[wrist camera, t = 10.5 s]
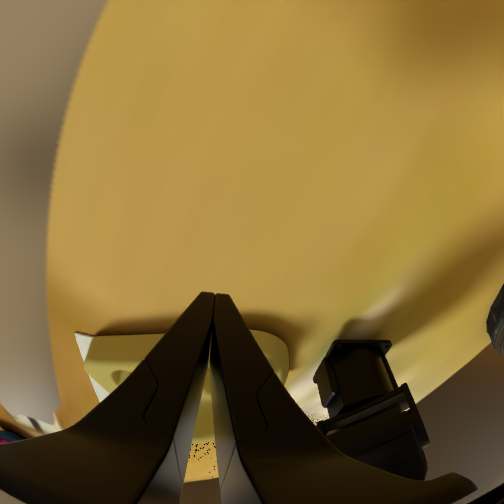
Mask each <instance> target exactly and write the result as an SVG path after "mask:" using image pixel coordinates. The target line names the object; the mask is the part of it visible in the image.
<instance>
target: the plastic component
mask: <svg viewBox="0 0 504 504" xmlns="http://www.w3.org/2000/svg"><path fill="white" fill-rule="evenodd" d="M250 331H251V333H252V335H253V336H254V338H255V340H256V341H257V343H258V345H259V346H260V348H261V350H262V351H263V353H264V355H265V356H266V358H267V360H268V361H269V363H270V364H271V366H272V368H273V369H274V371H275V372H274V373H276V374H277V376H278V377H279V379H280V381H281V382H282V384H283V385H284V384H285V382H286V379H287V376H288V372H289V354H288V349H287V346H286V344H285V343H284V342H283V341H282V340H281V339H279V338H278V337H276V336H274V335H272V334H269V333H266V332H263V331H258V330H250ZM163 335H164V334H147V335H121V336H97V337H94V338H93V339H92V340H91V343H90V346H89V349H88V352H87V355H86V358H85V361H84V368H85V370H86V372H87V373H88V374H89V375H90V376H91V377H92V378H93V379H94V380H95V381H96V382H97V383H98V384H99V385H100V386H101V387H103V388H104V389H105V390H106V391H107V392H108V393H109V394H110V393H111V392H112V391H114V390H115V389H116V388H117V387H118V386H119V385H120V384H121V383H122V382H123V381H124V380H125V379H126V378H127V377H128V376H129V375H130V374H131V372H132V371H133V370H134V369H135V368H136V367H137V366H138V365H139V363H140V362H141V361H142V360H144V358H145V357H146V355H147V354H148V353H149V352H150V351H151V349H152V348H153V347H154V346H155V345H156V344H157V342H158V341H159V340H160V339H161V338H162V337H163ZM210 345H211V344H210ZM209 358H210V355H209ZM211 441H215V434H214V423H213V411H212V398H211V384H210V369H209V363H208V369H207V373H206V378H205V382H204V387H203V392H202V396H201V401H200V405H199V410H198V415H197V419H196V424H195V429H194V434H193V438H192V443H191V444H198V443H206V442H211Z"/></svg>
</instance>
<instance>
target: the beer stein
mask: <svg viewBox="0 0 504 504" xmlns="http://www.w3.org/2000/svg"><path fill="white" fill-rule="evenodd" d="M486 323H487V333H488V334H489V336H490V338H491V341H492V344H493V347H494V349H495V350H496V351H497V352H498V353H500V354H502V355H504V284H503V286H502V288H501V290H500V292H499V294H498V295H497V297H496V299H495V301H494V302H493V304H492V306H491V309H490V312H489V315H488V318H487V321H486Z"/></svg>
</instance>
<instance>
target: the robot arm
mask: <svg viewBox="0 0 504 504" xmlns="http://www.w3.org/2000/svg"><path fill="white" fill-rule="evenodd" d="M214 301H215V302H214ZM210 344H211V345H210ZM391 346H392V343H391V341H390V340H343V339H338V340H335V341H334V342H333V343H332V345H331V347H330V348H329V350H328V352H327V354H326V356H325V358H324V359H323V360H322V362H321V364H320V365H319V367H318V369H317V371H316V372H315V375H314V377H313V382H314V383H317V385H318V390H319V394H320V399H321V403H322V406H323V407H324V408H327V409H328V414H329V419H326V420H324V421H323V420H321V421H318V422H317V423H316V424H317V427H316V426H315V425H314V424H313V422H312V421H311V420H310V419H309V418H308V417H307V415H306V414H305V413H304V412H303V411H302V409H301V408H300V407H299V406H298V404H297V403H296V402H295V401H294V399H293V398H292V397H291V396H290V394H289V393H288V391H287V390H286V388H285V387H284V385H283V384H282V382H281V381H280V379H279V377H278V376H277V374H276V373H274V372H275V371H274V369H273V368H272V366H271V364H270V363H269V361H268V360H267V358H266V356H265V355H264V353H263V351H262V350H261V348H260V346H259V345H258V343H257V341H256V340H255V338H254V336H253V335H252V333H251V331H250V329H249V328H248V326H247V324H246V323H245V321H244V319H243V318H242V316H241V314H240V312H239V311H238V309H237V307H236V306H235V304H234V302H233V300H232V299H231V297H230V295H228V294H221V293H217V294H216V295H215V294H214V293H211V292H201V293H200V294H199V295H198V296H197V297H196V298H195V300H194V301H193V302H192V303H191V304H190V305H189V306H188V308H187V309H186V310H185V311H184V312H183V313H182V315H181V316H180V317H179V318H178V319H177V320H176V322H175V323H174V324H173V325H172V326H171V327H170V328H169V330H168V331H167V332H166V333H165V334H164V335H163V337H162V338H161V339H160V340H159V341H158V342H157V344H156V345H155V346H154V347H153V348H152V349H151V351H150V352H149V353H148V354H147V355H146V357H145V358H144V360H142V361H141V362H140V363H139V365H138V366H137V367H136V368H135V369H134V370H133V371H132V372H131V374H130V375H129V376H128V377H127V378H126V379H125V380H124V381H123V382H122V383H121V384H120V385H119V386H118V387H117V388H116V389H115V390H114V391H112V392H111V393H110V394H109V395H108V396H107V397H106V398H105V399H103V400H102V401H101V402H100V403H99V404H98V405H97V406H96V407H94V408H93V409H92V410H91V411H90V412H89V413H88V414H87V415H85V416H84V417H83V418H82V419H81V420H80V421H78V422H77V423H75V424H74V425H72V426H70V427H69V428H67V429H64V430H62V431H58V432H54V433H50V434H46V435H42V436H38V437H33V438H29V439H24V440H20V441H15V442H9V443H2V444H0V504H179V503H180V498H181V492H182V486H183V482H184V477H185V472H186V468H187V463H188V458H189V453H190V448H191V443H192V438H193V434H194V429H195V424H196V419H197V415H198V410H199V405H200V401H201V396H202V392H203V387H204V382H205V378H206V373H207V369H208V363H209V369H210V384H211V398H212V411H213V423H214V434H215V445H216V455H217V464H218V473H219V482H220V489H221V499H222V504H452V503H454V502H456V501H458V500H460V499H461V498H463V497H465V496H467V495H469V494H470V493H472V492H474V491H476V490H477V489H478V488H477V486H476V485H475V484H474V483H473V482H472V481H471V480H469V479H468V478H466V477H464V476H462V475H459V474H457V473H455V472H451V473H447V474H445V475H442V476H440V477H437V478H435V479H432V480H425V476H426V473H427V468H428V467H427V465H428V463H427V460H426V456H425V453H424V450H423V448H424V447H426V446H428V445H430V441H429V438H428V435H427V433H426V430H425V427H424V424H423V422H422V419H421V417H420V414H419V412H418V409H417V407H416V404H415V402H414V399H413V397H412V395H411V392H410V390H409V388H408V385H407V383H404V384H402V385H401V386H400V387H398V385H397V383H396V380H395V378H394V375H393V373H392V371H391V368H390V366H389V364H388V361H387V359H386V357H385V355H386V353H387V352H388V351H389V349H390V348H391ZM209 355H210V358H209ZM408 408H410V409H409V410H408V411H404V410H406V409H408ZM424 480H425V481H424ZM467 504H504V483H502V484H500V485H499V486H497V487H495V488H494V489H492V490H491V491H489V492H487V493H485V494H483V495H481V496H480V497H478V498H476V499H474V500H473V501H471V502H469V503H467Z"/></svg>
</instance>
